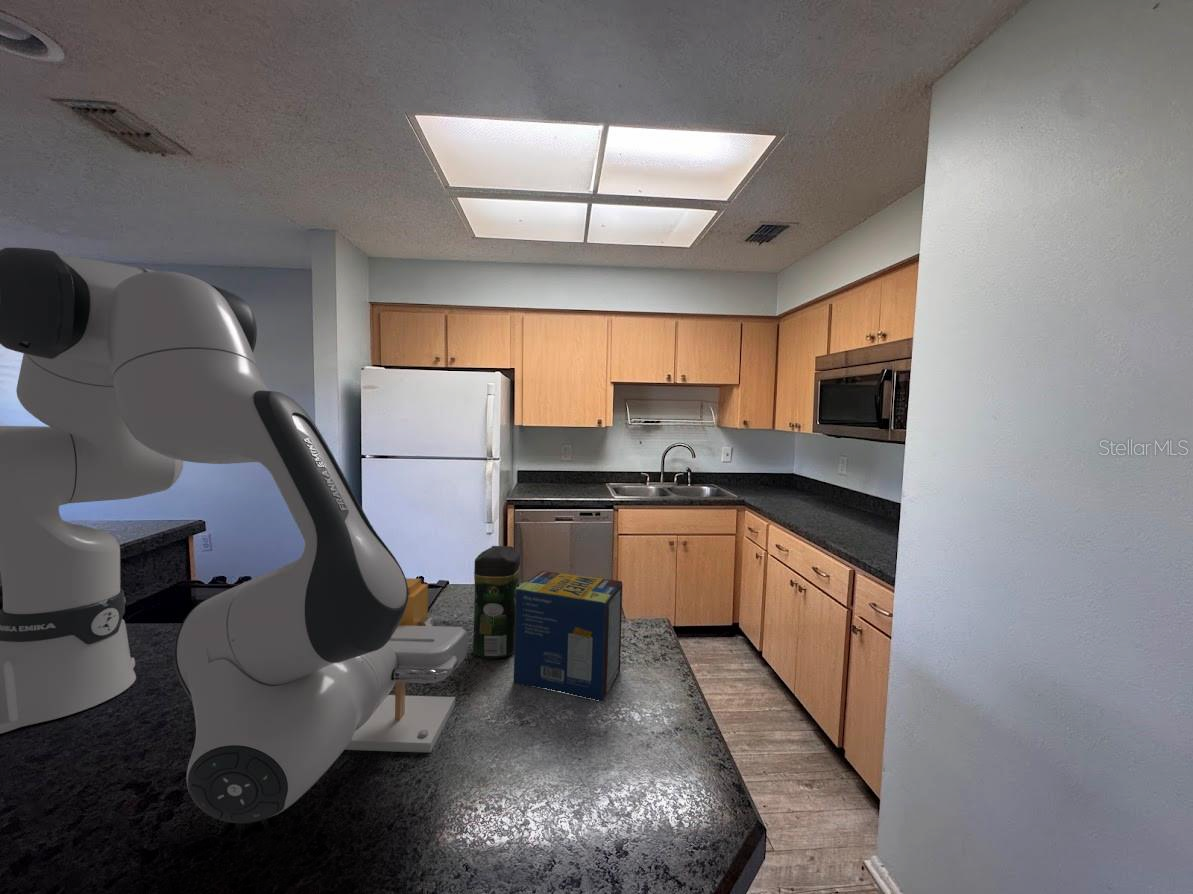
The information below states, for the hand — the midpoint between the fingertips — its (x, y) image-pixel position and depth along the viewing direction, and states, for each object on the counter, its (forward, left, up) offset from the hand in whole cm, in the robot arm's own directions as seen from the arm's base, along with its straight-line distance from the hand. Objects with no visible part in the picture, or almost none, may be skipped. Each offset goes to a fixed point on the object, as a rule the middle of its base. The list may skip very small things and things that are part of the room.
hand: (404, 622), depth 63 cm
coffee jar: (+8, +22, -14) cm, 27 cm away
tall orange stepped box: (0, -1, -6) cm, 6 cm away
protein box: (+22, +13, -14) cm, 29 cm away
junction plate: (0, -1, -14) cm, 14 cm away
